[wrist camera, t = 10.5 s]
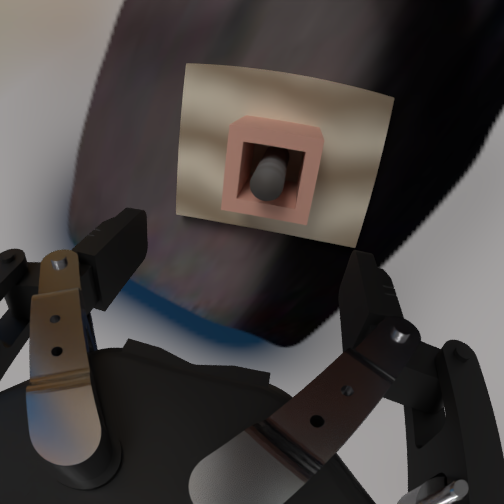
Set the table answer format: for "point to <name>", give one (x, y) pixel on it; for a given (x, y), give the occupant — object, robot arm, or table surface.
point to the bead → (294, 193)
